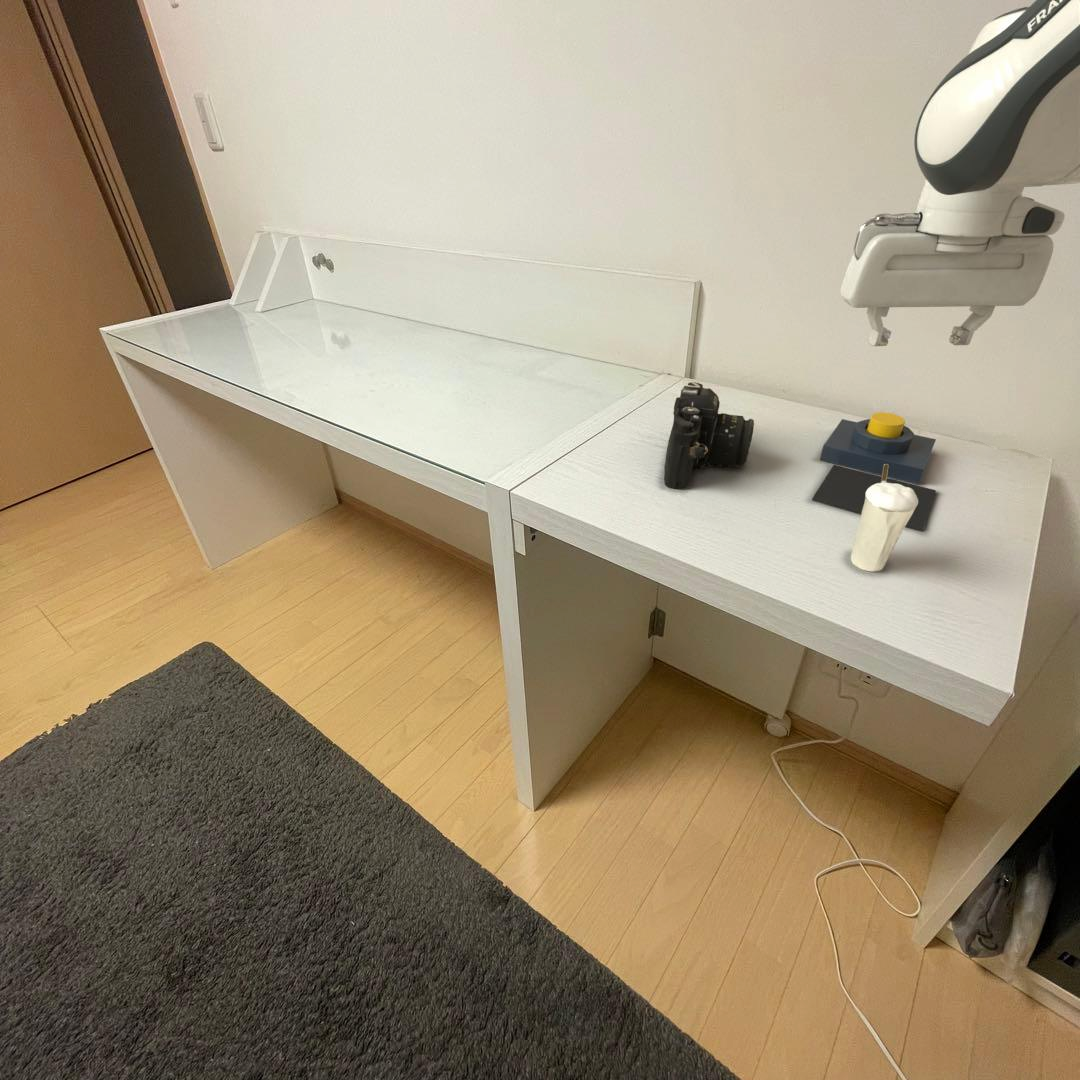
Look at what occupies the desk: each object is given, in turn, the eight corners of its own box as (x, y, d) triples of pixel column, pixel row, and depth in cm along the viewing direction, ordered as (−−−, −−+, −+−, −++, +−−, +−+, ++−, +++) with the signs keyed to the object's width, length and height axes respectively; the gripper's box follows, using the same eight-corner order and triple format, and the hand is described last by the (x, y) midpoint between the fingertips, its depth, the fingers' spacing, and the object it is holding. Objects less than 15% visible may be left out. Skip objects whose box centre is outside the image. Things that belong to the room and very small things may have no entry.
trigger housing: (930, 453, 83) (941, 426, 81) (918, 484, 77) (929, 456, 74) (838, 432, 89) (845, 407, 87) (819, 460, 82) (826, 433, 80)
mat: (934, 492, 75) (936, 490, 75) (921, 531, 68) (923, 528, 68) (832, 467, 81) (833, 464, 80) (811, 500, 74) (812, 497, 74)
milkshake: (879, 546, 66) (910, 465, 60) (897, 577, 62) (933, 493, 56) (836, 544, 67) (862, 463, 61) (851, 575, 62) (881, 491, 57)
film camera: (768, 495, 75) (786, 420, 70) (668, 497, 75) (677, 422, 69) (729, 431, 90) (741, 365, 84) (646, 433, 90) (652, 367, 84)
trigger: (902, 430, 81) (907, 416, 80) (897, 442, 78) (902, 427, 77) (870, 424, 83) (874, 409, 82) (863, 434, 80) (868, 420, 79)
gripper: (875, 218, 61) (838, 354, 69) (1082, 215, 61) (1021, 352, 69) (850, 209, 66) (818, 336, 75) (1041, 206, 66) (988, 335, 74)
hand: (917, 344), depth 72 cm, fingers open, 8 cm apart
